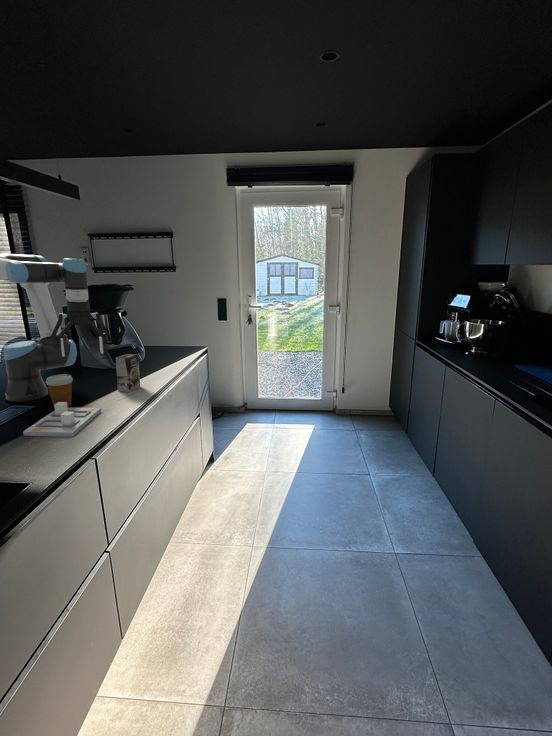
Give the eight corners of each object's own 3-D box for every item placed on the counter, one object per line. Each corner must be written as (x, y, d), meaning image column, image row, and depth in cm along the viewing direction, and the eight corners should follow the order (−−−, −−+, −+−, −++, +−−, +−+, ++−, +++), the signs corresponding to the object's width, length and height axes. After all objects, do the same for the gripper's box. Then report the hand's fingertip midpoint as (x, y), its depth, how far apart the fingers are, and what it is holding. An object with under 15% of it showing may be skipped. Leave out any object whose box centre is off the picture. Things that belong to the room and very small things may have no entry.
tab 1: (55, 414, 132) (54, 404, 131) (59, 411, 135) (58, 401, 134) (63, 415, 132) (62, 405, 131) (68, 412, 135) (66, 402, 134)
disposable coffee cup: (56, 411, 140) (52, 382, 137) (44, 406, 144) (40, 377, 141) (80, 404, 148) (77, 376, 144) (67, 399, 152) (64, 372, 149)
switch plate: (23, 435, 119) (22, 430, 119) (59, 410, 140) (58, 406, 140) (72, 436, 120) (72, 431, 119) (100, 411, 141) (100, 406, 141)
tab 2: (61, 425, 124) (60, 414, 123) (66, 421, 127) (65, 411, 126) (70, 425, 124) (69, 414, 123) (75, 422, 127) (73, 411, 126)
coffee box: (129, 392, 164) (127, 358, 160) (117, 390, 165) (114, 357, 161) (141, 386, 173) (138, 354, 169) (129, 385, 174) (126, 353, 170)
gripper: (38, 301, 126) (46, 359, 132) (114, 301, 140) (118, 353, 145) (38, 299, 133) (46, 354, 138) (111, 299, 146) (115, 349, 151)
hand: (83, 354), depth 142 cm, fingers open, 13 cm apart
